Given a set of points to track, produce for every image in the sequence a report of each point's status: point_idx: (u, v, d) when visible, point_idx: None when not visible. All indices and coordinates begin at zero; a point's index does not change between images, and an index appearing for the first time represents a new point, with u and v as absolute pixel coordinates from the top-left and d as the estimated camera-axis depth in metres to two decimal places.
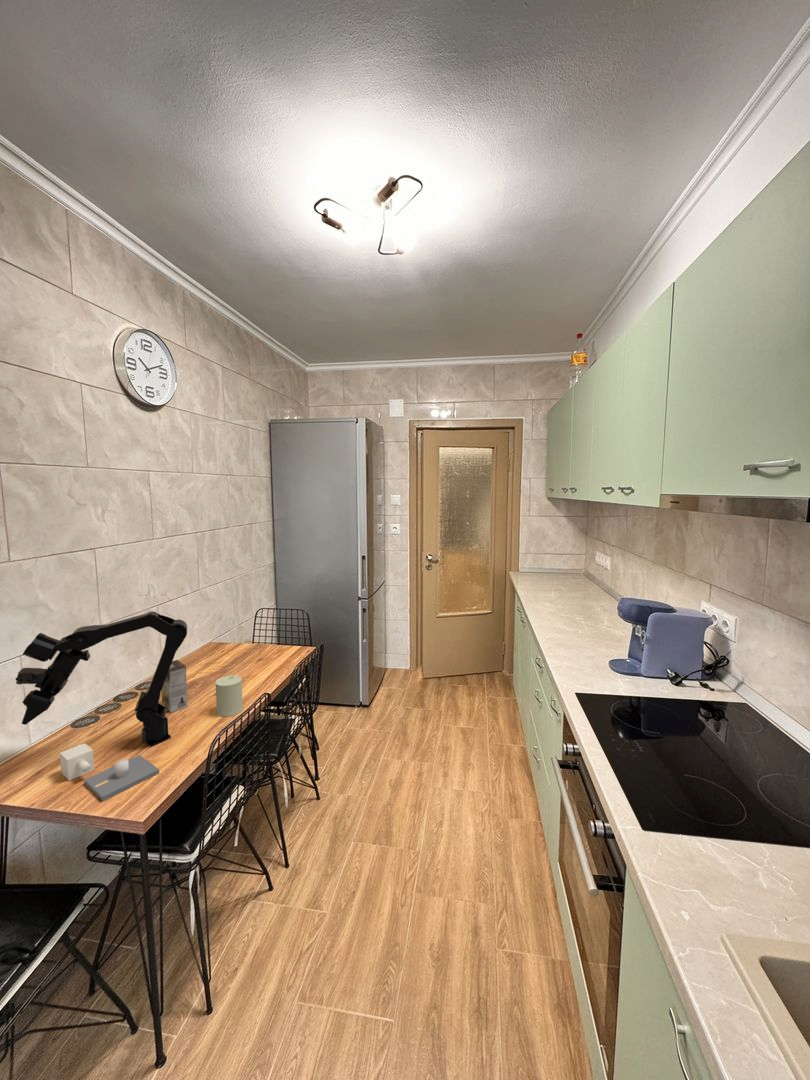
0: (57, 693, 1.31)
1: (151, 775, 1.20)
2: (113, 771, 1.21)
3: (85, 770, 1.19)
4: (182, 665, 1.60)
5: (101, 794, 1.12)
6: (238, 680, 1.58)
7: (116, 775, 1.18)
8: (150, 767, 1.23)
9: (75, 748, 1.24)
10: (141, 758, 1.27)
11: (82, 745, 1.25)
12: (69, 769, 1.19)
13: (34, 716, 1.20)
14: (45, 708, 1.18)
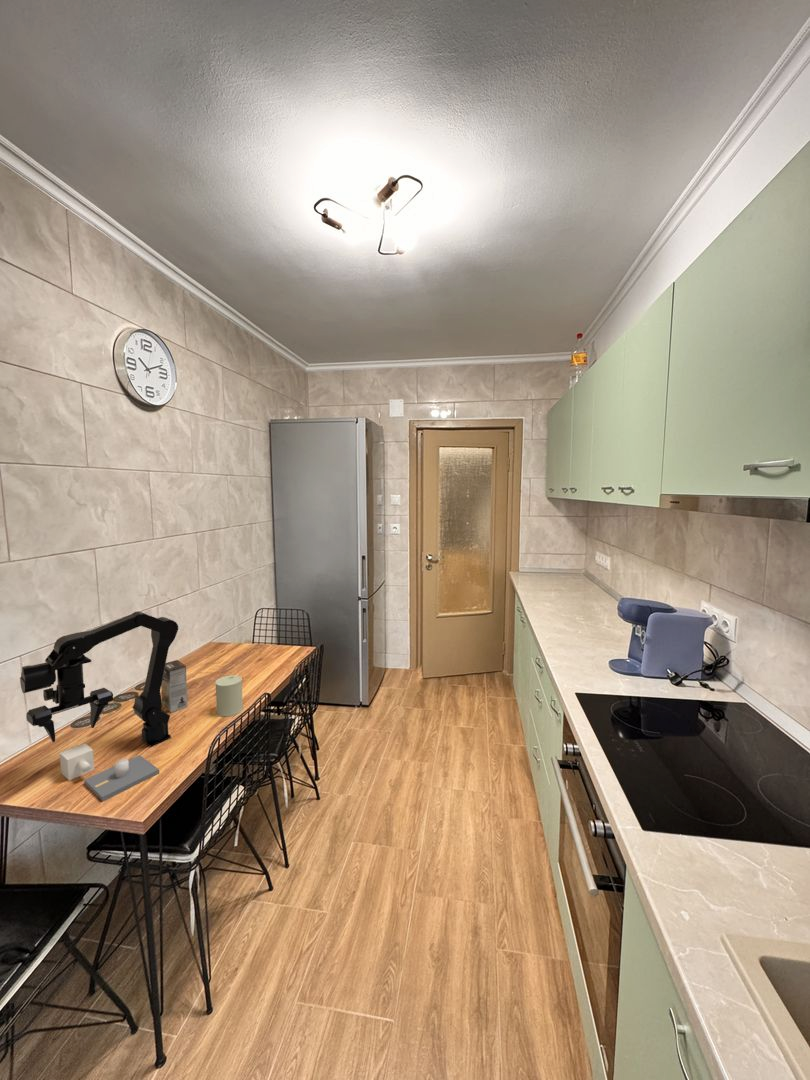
0: (97, 709, 1.24)
1: (151, 775, 1.20)
2: (113, 771, 1.21)
3: (85, 770, 1.19)
4: (182, 665, 1.60)
5: (101, 794, 1.12)
6: (238, 680, 1.58)
7: (116, 775, 1.18)
8: (150, 767, 1.23)
9: (75, 748, 1.24)
10: (141, 758, 1.27)
11: (82, 745, 1.25)
12: (69, 769, 1.19)
13: (49, 733, 1.16)
14: (33, 724, 1.12)
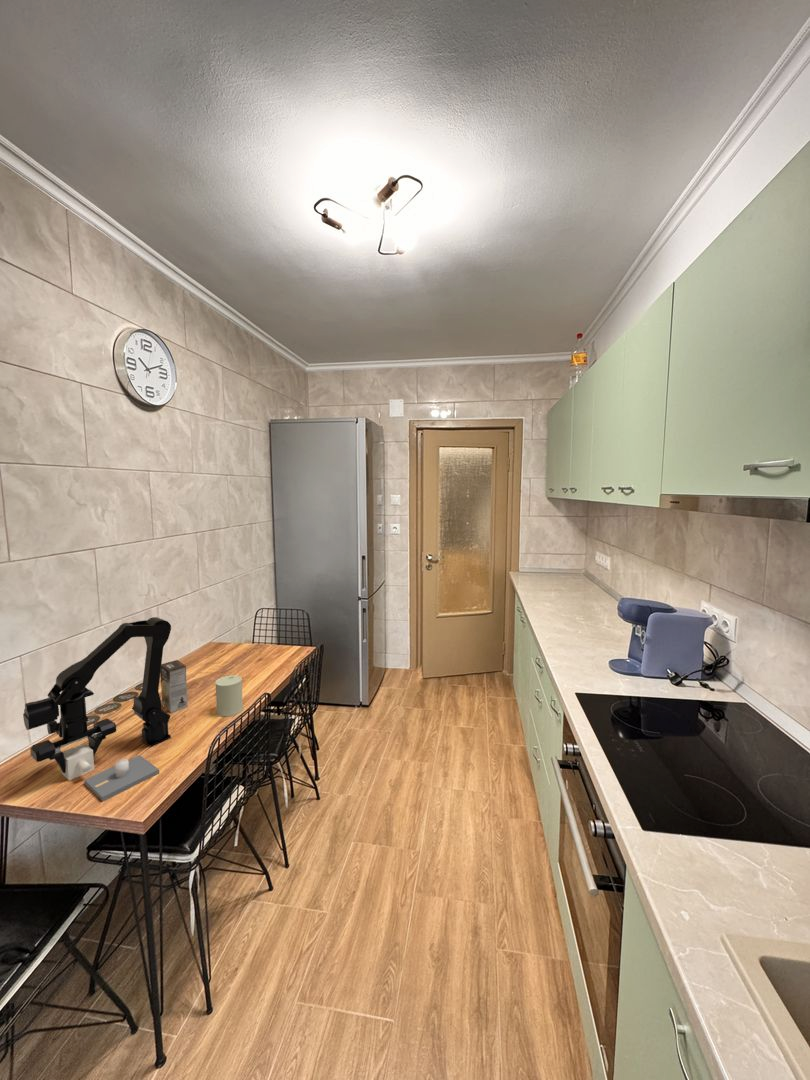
0: (94, 743, 1.24)
1: (151, 775, 1.20)
2: (113, 771, 1.21)
3: (85, 770, 1.19)
4: (182, 665, 1.60)
5: (101, 794, 1.12)
6: (238, 680, 1.58)
7: (116, 775, 1.18)
8: (150, 767, 1.23)
9: (75, 748, 1.24)
10: (141, 758, 1.27)
11: (82, 745, 1.25)
12: (69, 769, 1.19)
13: (59, 765, 1.18)
14: (37, 760, 1.13)
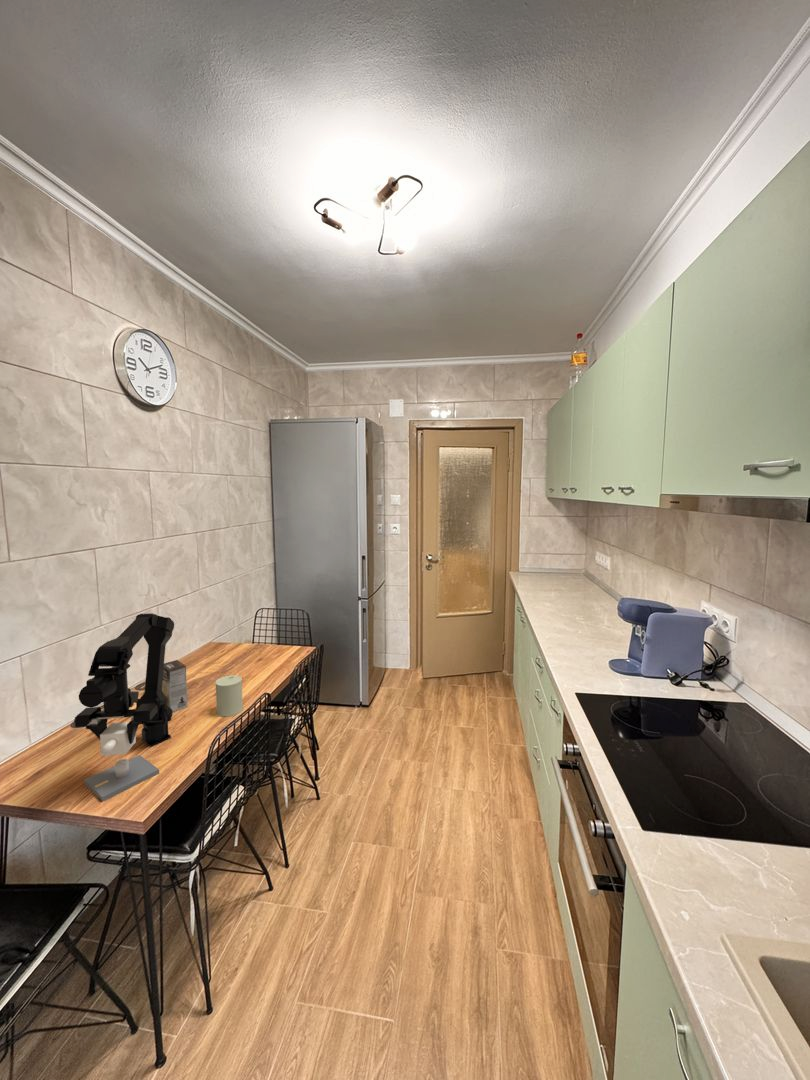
0: (127, 726, 1.16)
1: (151, 775, 1.20)
2: (113, 771, 1.21)
3: (105, 752, 1.12)
4: (182, 665, 1.60)
5: (101, 794, 1.12)
6: (238, 680, 1.58)
7: (116, 775, 1.18)
8: (150, 767, 1.23)
9: (122, 724, 1.20)
10: (141, 758, 1.27)
11: None
12: (101, 744, 1.15)
13: None
14: (74, 724, 1.14)
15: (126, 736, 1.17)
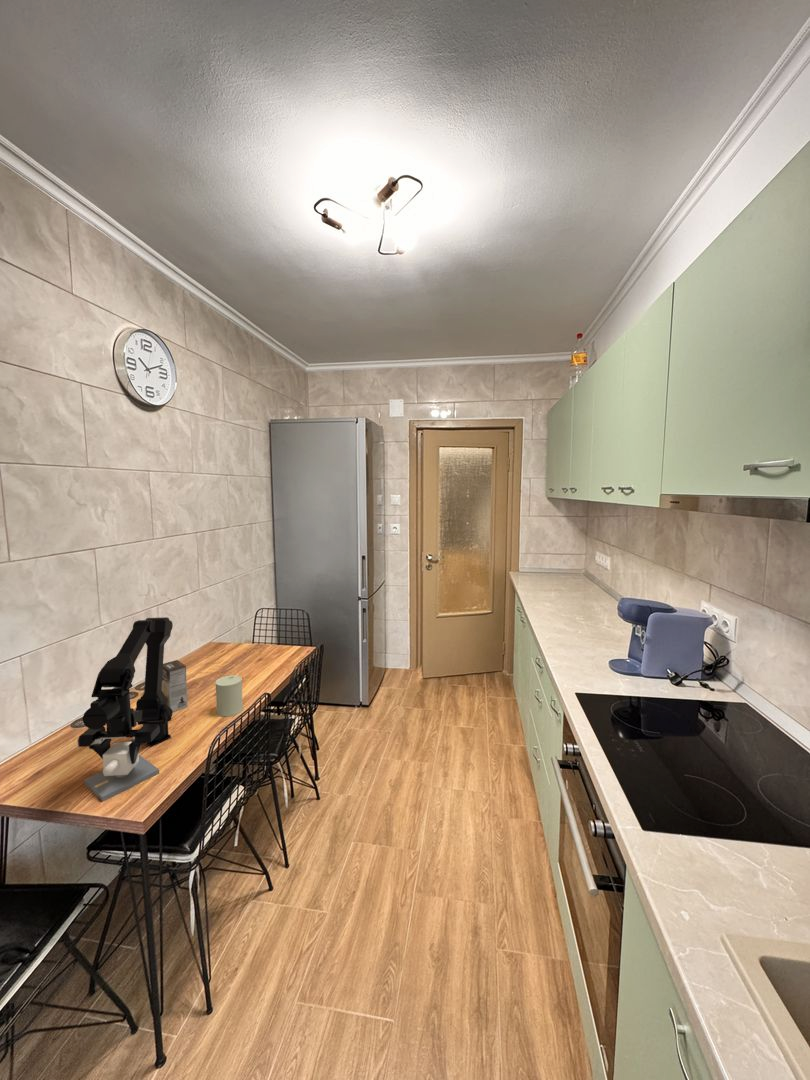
0: (129, 747, 1.17)
1: (151, 775, 1.20)
2: None
3: (106, 773, 1.13)
4: (182, 665, 1.60)
5: (101, 794, 1.12)
6: (238, 680, 1.58)
7: (116, 775, 1.18)
8: (150, 767, 1.23)
9: (126, 743, 1.21)
10: (141, 758, 1.27)
11: None
12: (104, 764, 1.16)
13: None
14: (78, 744, 1.15)
15: (128, 756, 1.17)
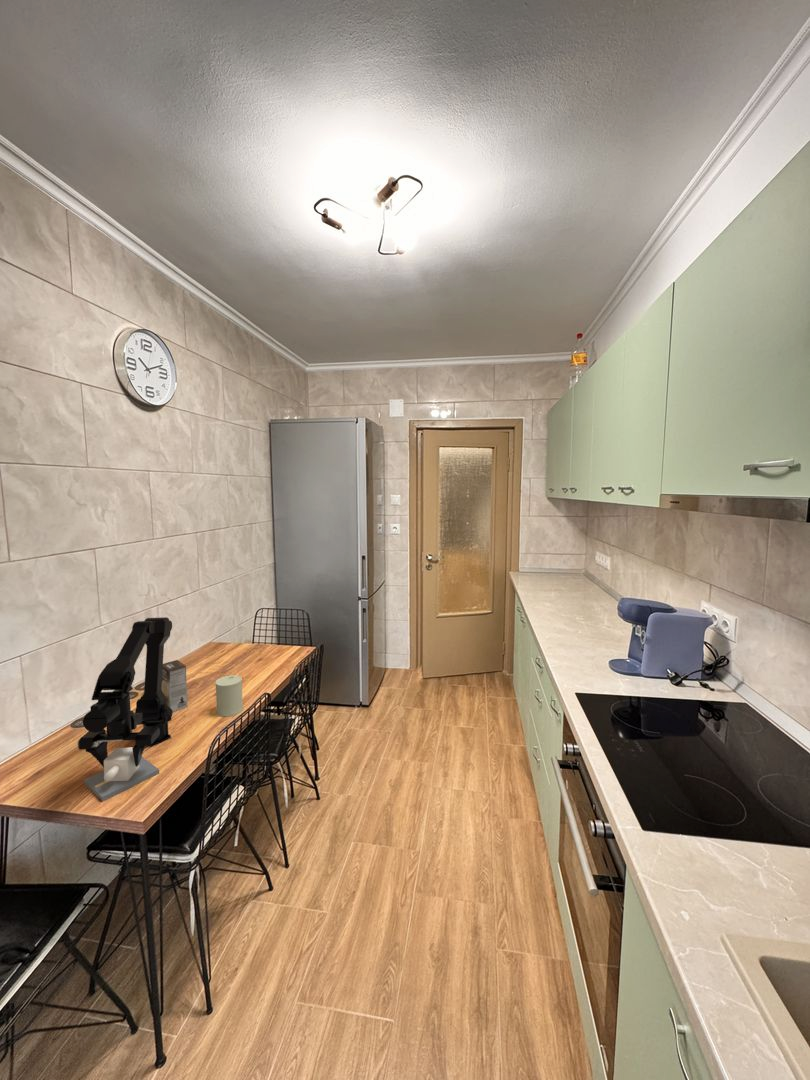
0: None
1: (151, 775, 1.20)
2: None
3: (107, 779, 1.13)
4: (182, 665, 1.60)
5: (101, 794, 1.12)
6: (238, 680, 1.58)
7: None
8: (150, 767, 1.23)
9: (127, 749, 1.21)
10: (141, 758, 1.27)
11: None
12: (105, 770, 1.16)
13: None
14: (78, 746, 1.15)
15: (129, 762, 1.18)
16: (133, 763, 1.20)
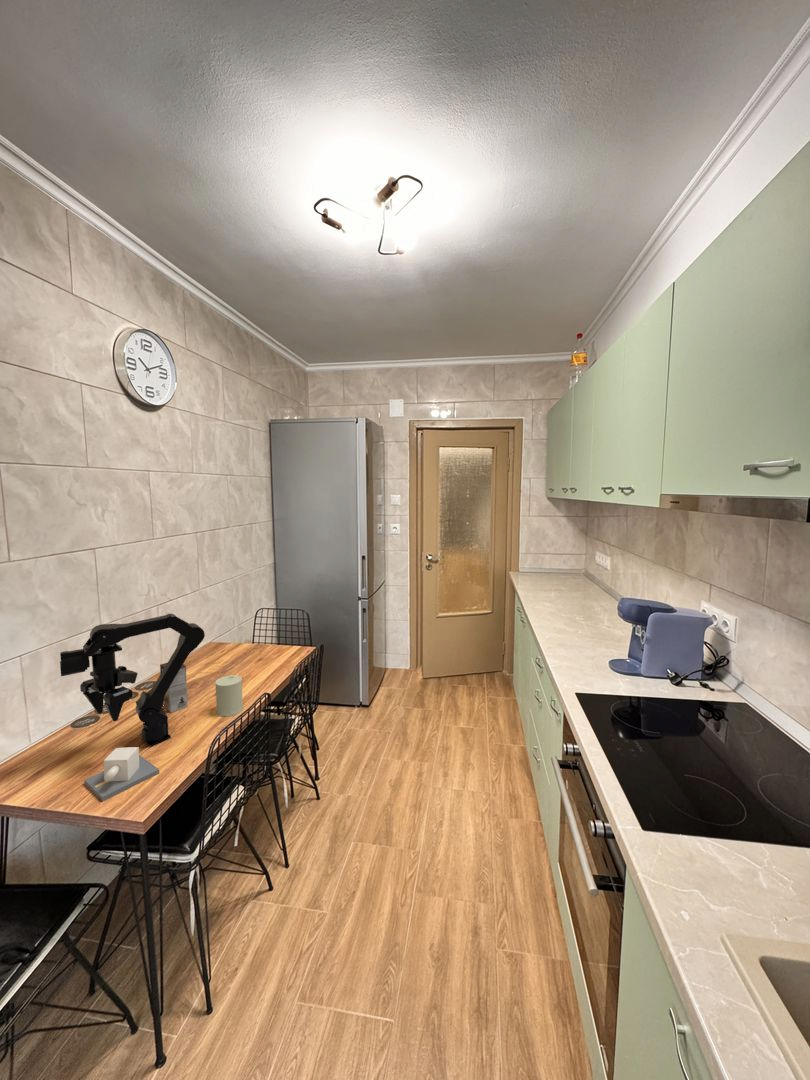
0: (105, 705, 1.25)
1: (151, 775, 1.20)
2: None
3: (107, 779, 1.13)
4: (182, 665, 1.60)
5: (101, 794, 1.12)
6: (238, 680, 1.58)
7: None
8: (150, 767, 1.23)
9: (127, 749, 1.21)
10: (141, 758, 1.27)
11: (133, 749, 1.21)
12: (105, 770, 1.16)
13: None
14: None
15: (129, 762, 1.18)
16: (133, 763, 1.20)
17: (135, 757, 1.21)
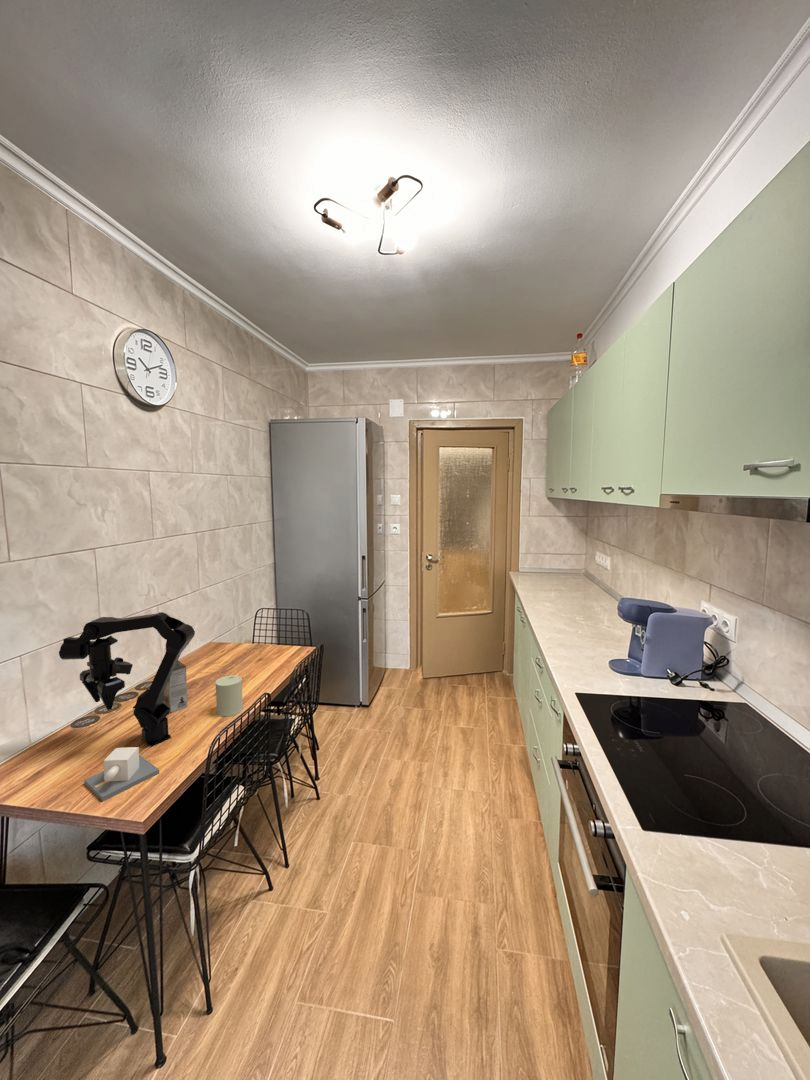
0: (99, 694, 1.31)
1: (151, 775, 1.20)
2: None
3: (107, 779, 1.13)
4: (182, 665, 1.60)
5: (101, 794, 1.12)
6: (238, 680, 1.58)
7: None
8: (150, 767, 1.23)
9: (127, 749, 1.21)
10: (141, 758, 1.27)
11: (133, 749, 1.21)
12: (105, 770, 1.16)
13: None
14: None
15: (129, 762, 1.18)
16: (133, 763, 1.20)
17: (135, 757, 1.21)
